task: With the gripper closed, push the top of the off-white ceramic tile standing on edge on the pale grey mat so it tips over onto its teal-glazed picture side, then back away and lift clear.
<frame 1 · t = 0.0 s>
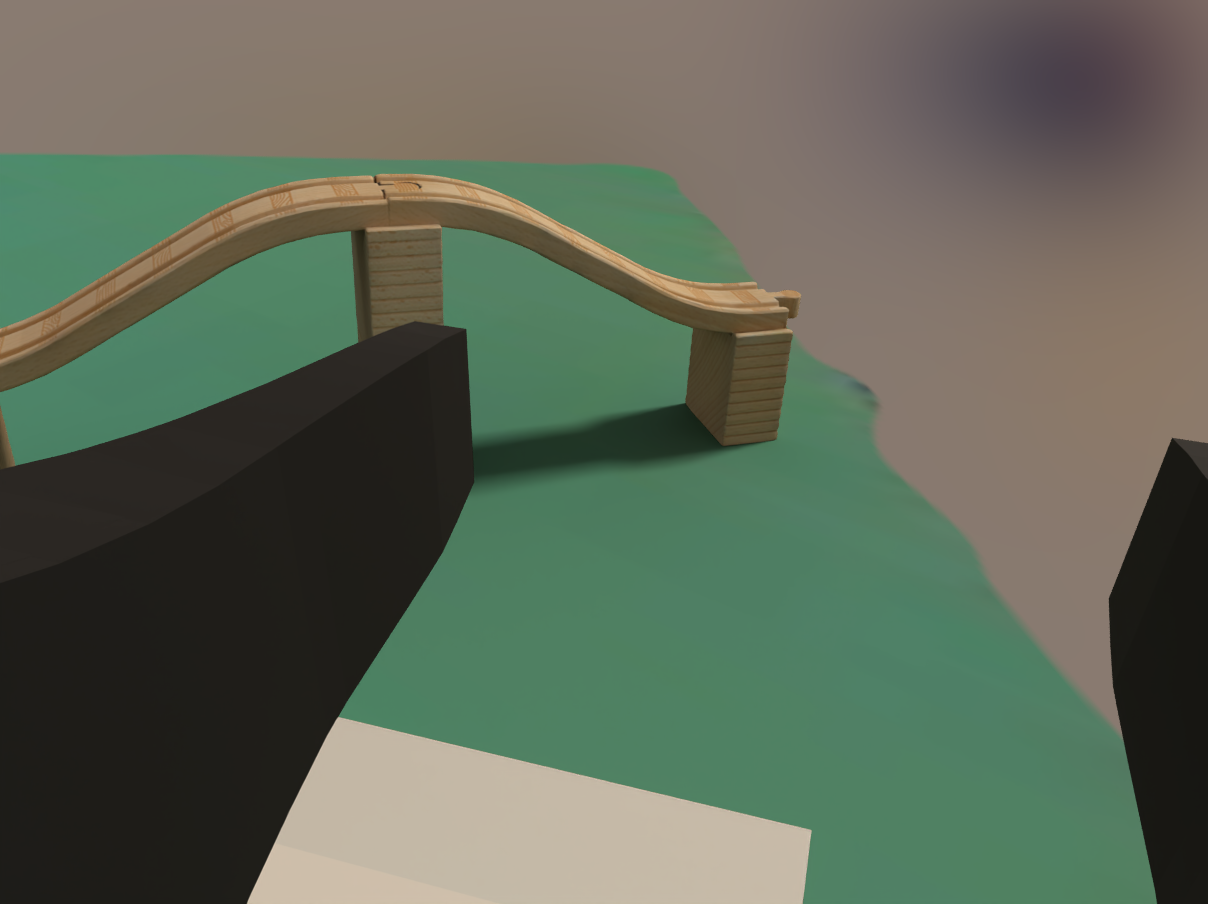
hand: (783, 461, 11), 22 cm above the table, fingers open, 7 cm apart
toy bridge: (408, 467, 54), on the table
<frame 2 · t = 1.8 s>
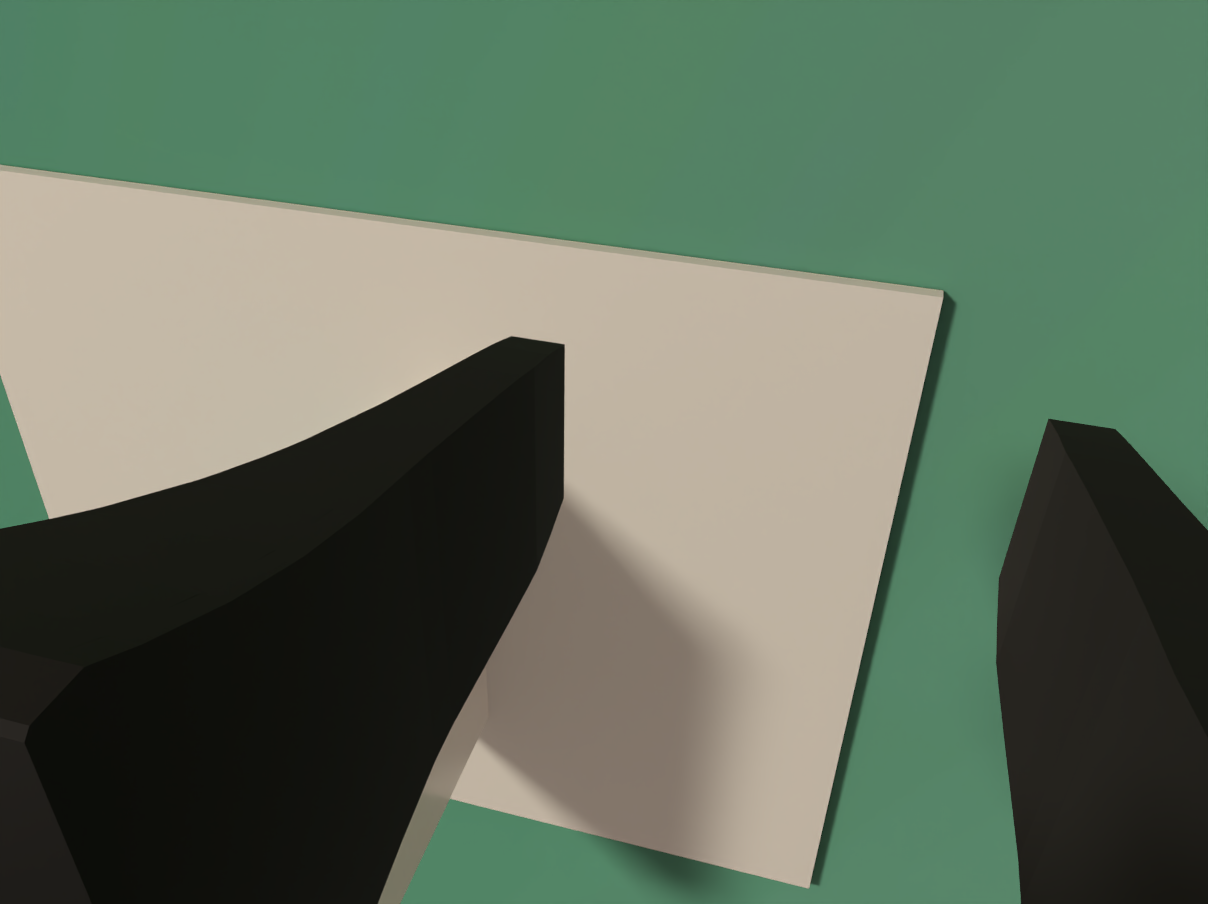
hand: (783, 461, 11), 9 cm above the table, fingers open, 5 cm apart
tile: (453, 571, 26), resting on mat
mat: (420, 556, 27), on the table
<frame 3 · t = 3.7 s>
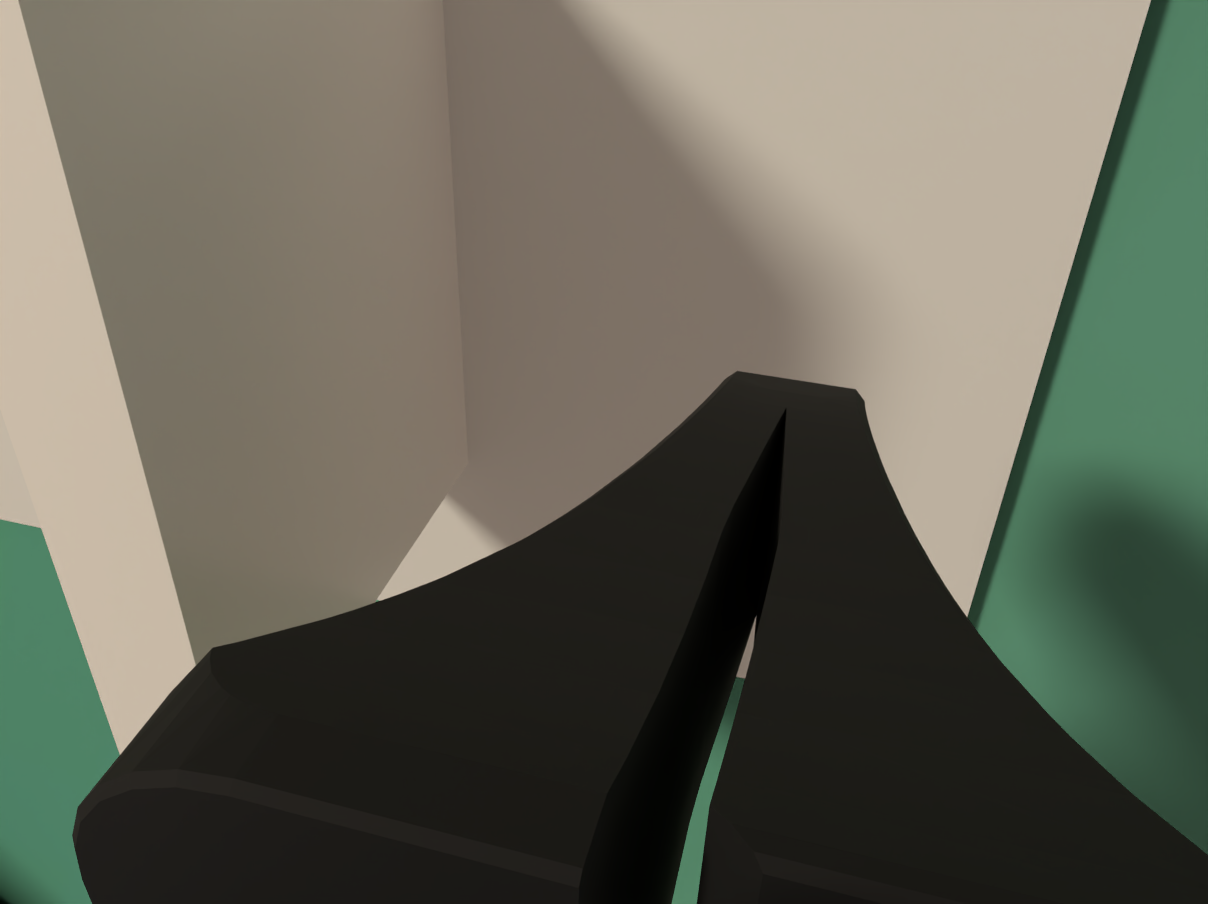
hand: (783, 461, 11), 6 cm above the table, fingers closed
tile: (410, 198, 17), resting on mat
mat: (361, 185, 17), on the table
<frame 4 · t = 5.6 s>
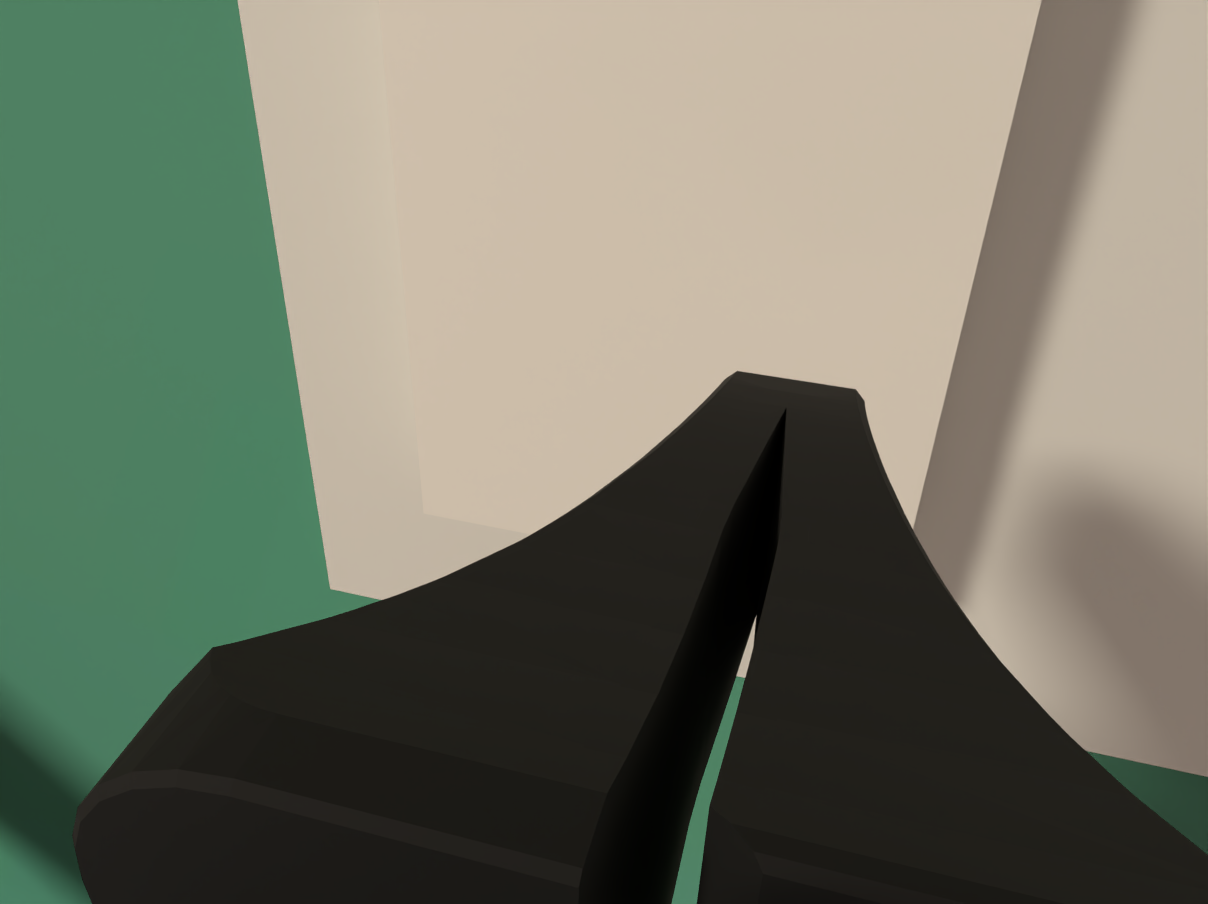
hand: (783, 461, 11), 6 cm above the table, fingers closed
tile: (962, 297, 15), point 1 cm above the table, tilted 90°, touching mat
mat: (950, 260, 16), on the table
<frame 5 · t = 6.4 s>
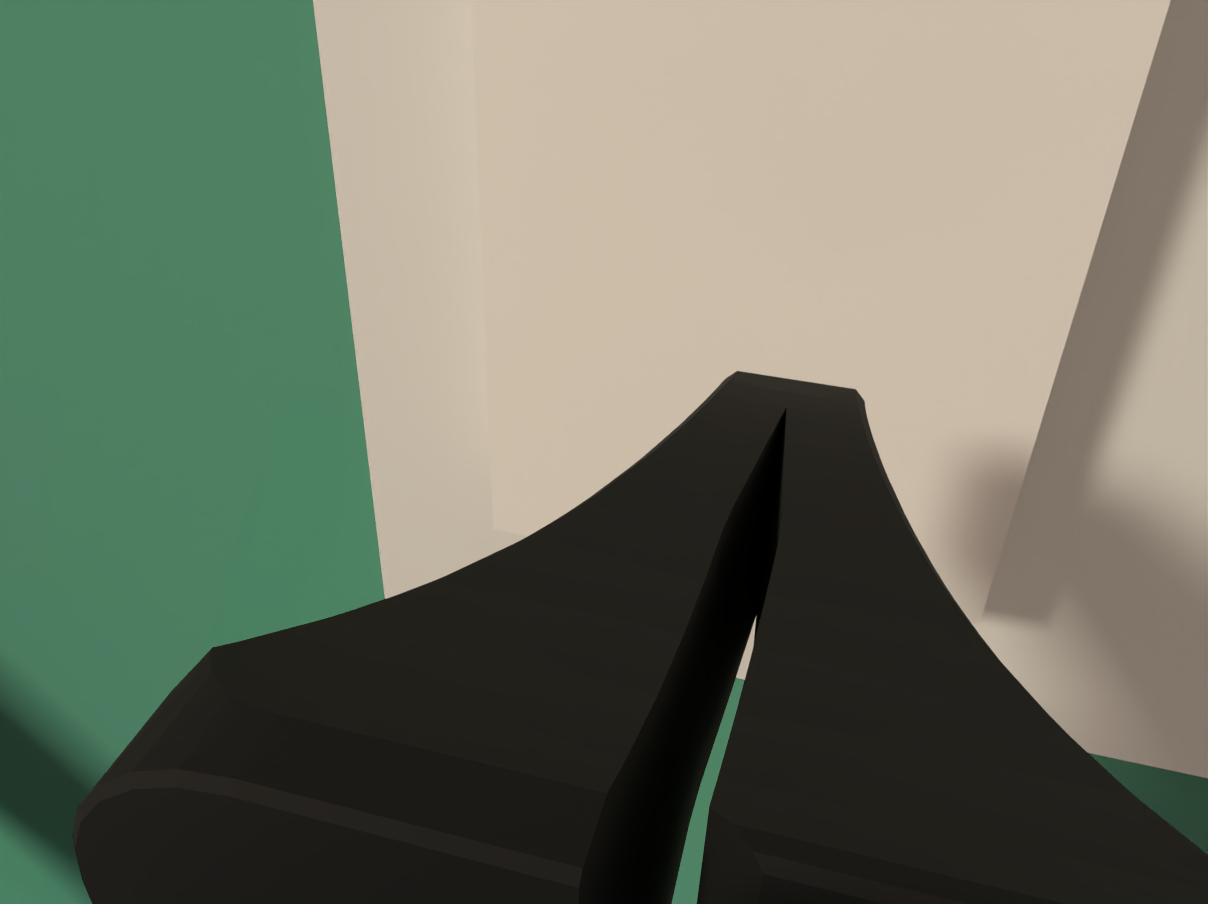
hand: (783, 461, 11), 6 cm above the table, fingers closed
tile: (1062, 312, 14), point 1 cm above the table, tilted 90°, touching mat
mat: (1042, 273, 15), on the table
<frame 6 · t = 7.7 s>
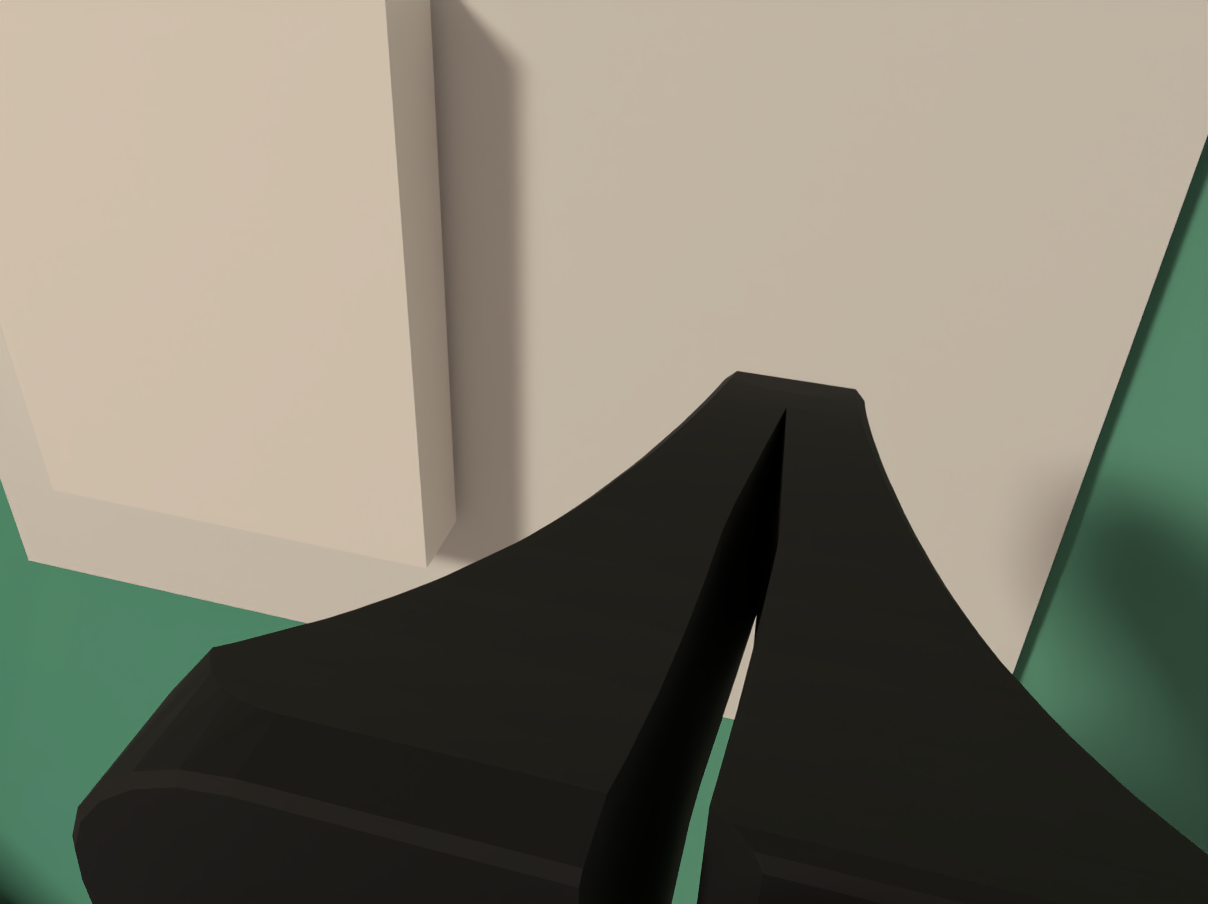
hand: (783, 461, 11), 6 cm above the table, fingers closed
tile: (427, 308, 17), point 1 cm above the table, tilted 90°, touching mat
mat: (446, 276, 18), on the table
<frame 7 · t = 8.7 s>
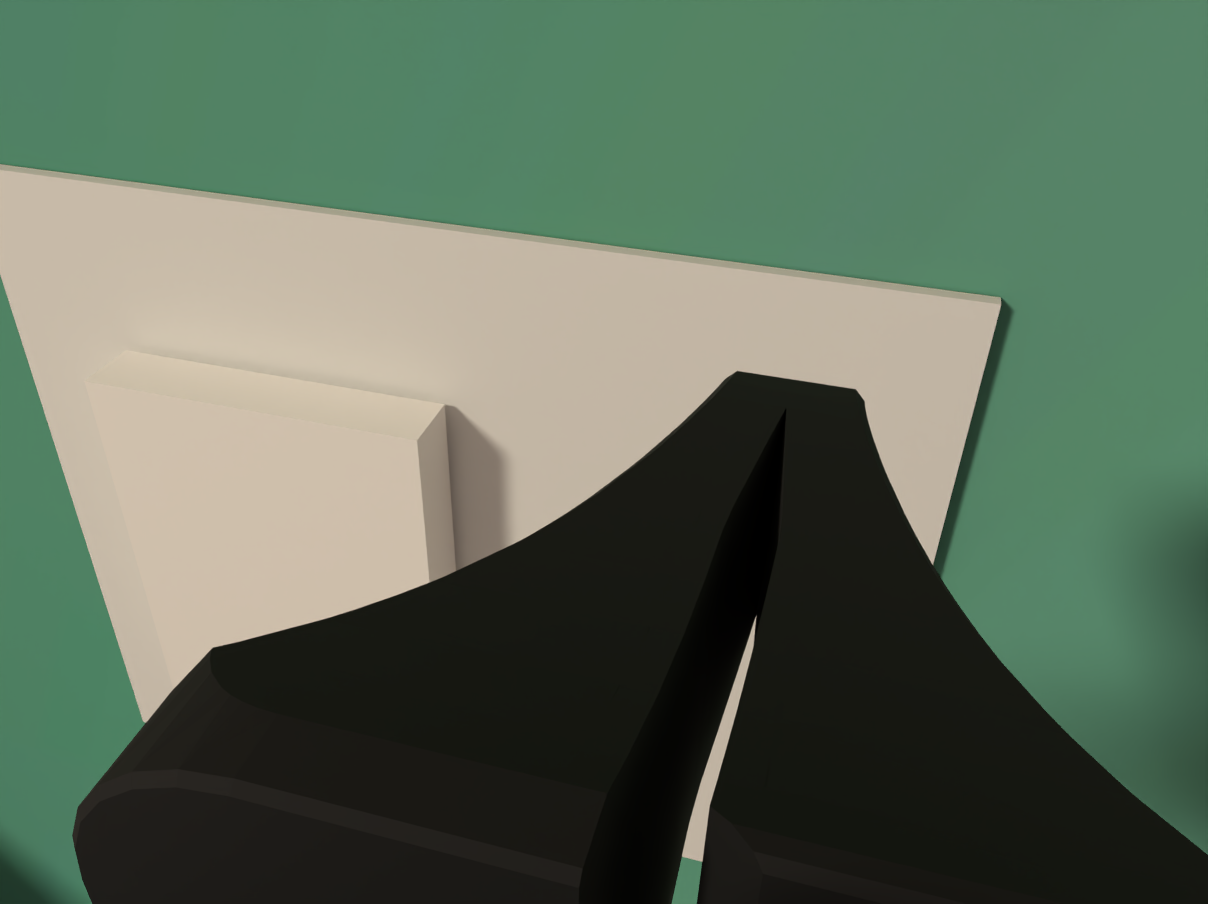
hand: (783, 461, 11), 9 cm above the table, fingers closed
tile: (444, 597, 25), point 1 cm above the table, tilted 90°, touching mat
mat: (457, 563, 26), on the table
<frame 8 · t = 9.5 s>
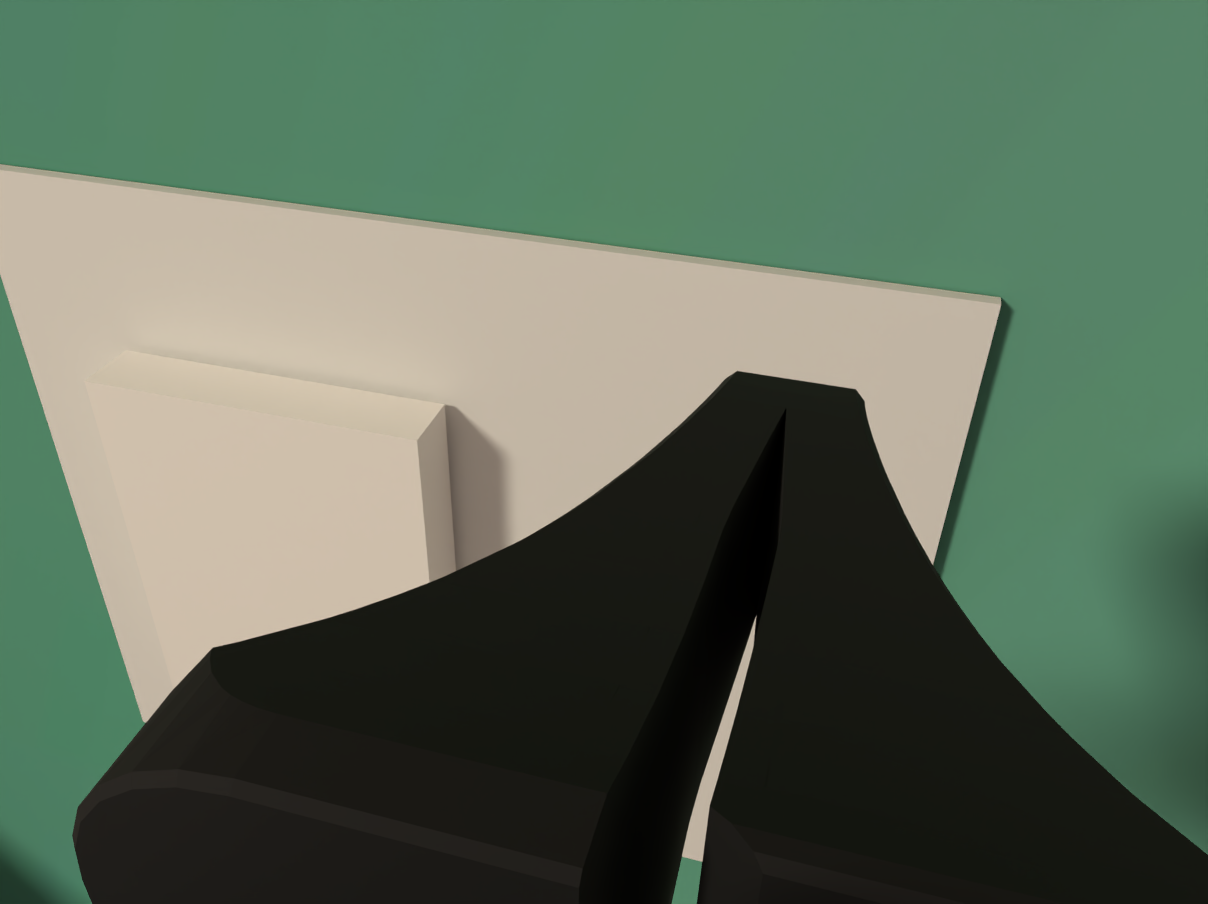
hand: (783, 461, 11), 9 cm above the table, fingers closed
tile: (444, 597, 25), point 1 cm above the table, tilted 90°, touching mat
mat: (457, 563, 26), on the table
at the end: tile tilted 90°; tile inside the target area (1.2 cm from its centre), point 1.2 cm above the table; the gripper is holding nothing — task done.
